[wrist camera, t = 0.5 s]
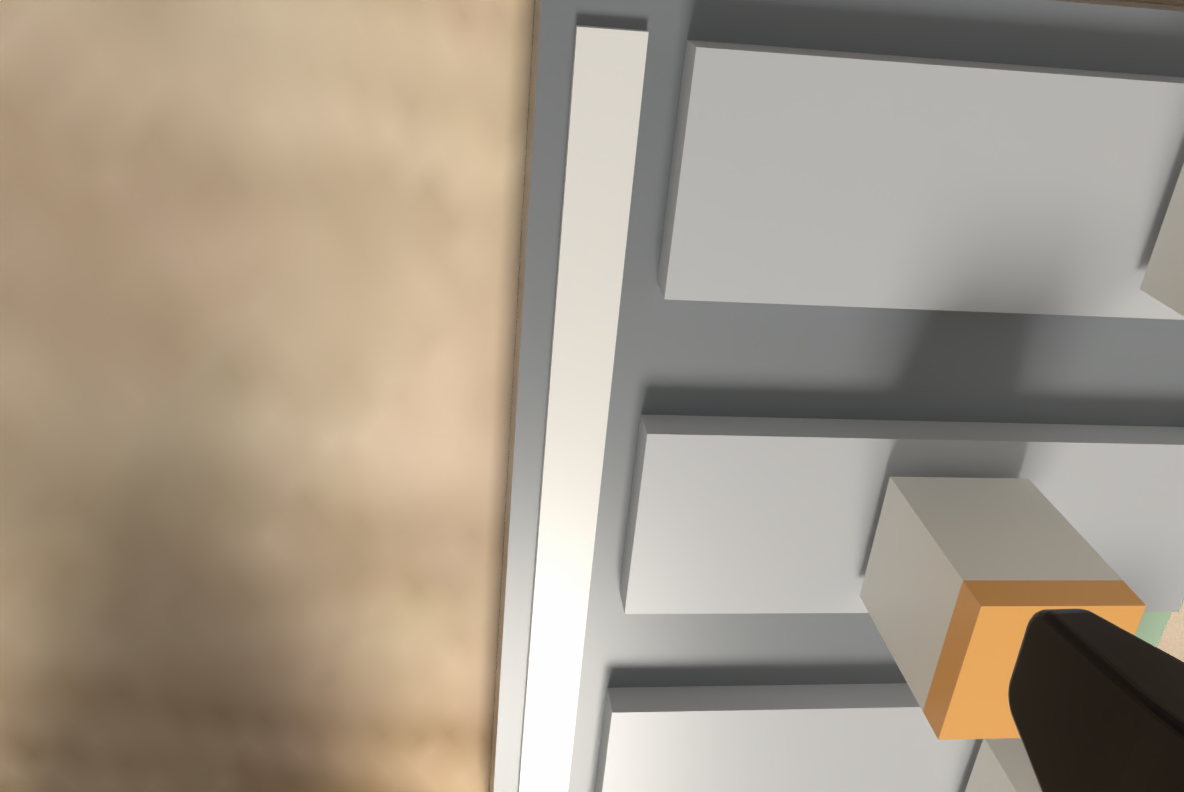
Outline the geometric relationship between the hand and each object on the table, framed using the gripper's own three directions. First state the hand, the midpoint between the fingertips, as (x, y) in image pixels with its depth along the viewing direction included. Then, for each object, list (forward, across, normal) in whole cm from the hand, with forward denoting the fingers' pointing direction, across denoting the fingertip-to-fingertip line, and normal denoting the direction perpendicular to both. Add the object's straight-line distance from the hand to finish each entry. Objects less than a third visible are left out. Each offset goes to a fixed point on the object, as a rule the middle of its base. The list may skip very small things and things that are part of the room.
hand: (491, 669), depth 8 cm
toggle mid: (+11, -10, +6) cm, 16 cm away
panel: (+13, -9, +6) cm, 17 cm away
